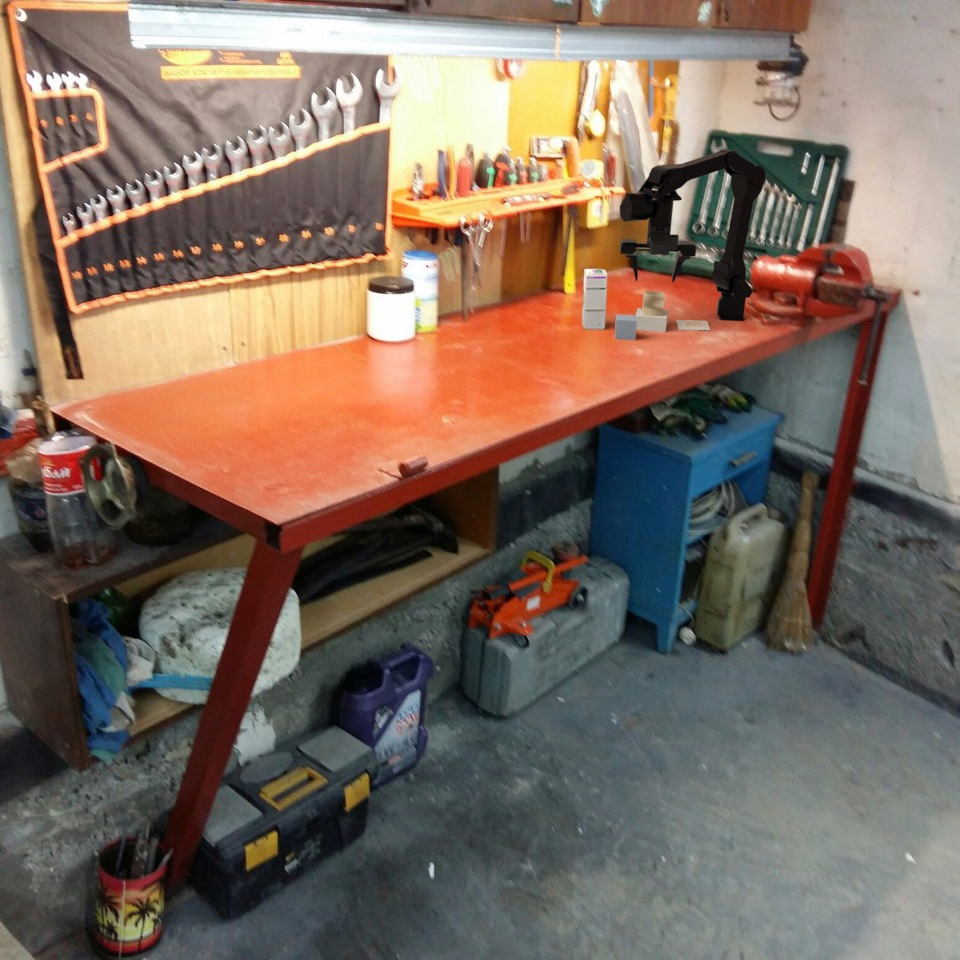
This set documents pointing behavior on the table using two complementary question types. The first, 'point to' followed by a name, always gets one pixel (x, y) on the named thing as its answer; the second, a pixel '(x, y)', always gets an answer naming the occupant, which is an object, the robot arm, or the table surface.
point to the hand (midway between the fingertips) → (654, 281)
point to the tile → (692, 325)
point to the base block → (651, 321)
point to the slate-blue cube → (625, 327)
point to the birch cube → (653, 303)
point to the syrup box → (594, 298)
